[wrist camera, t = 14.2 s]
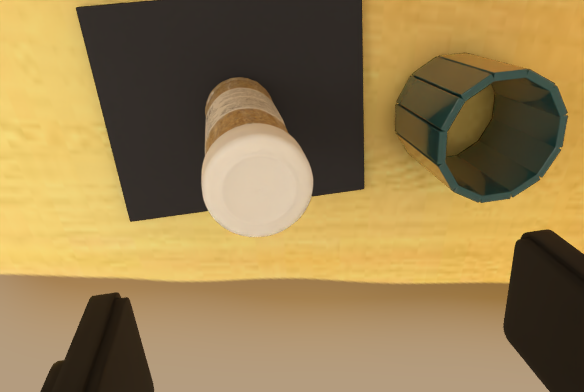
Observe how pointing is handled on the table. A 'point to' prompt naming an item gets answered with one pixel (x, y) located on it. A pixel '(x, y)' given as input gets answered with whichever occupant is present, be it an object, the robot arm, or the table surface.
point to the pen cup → (499, 133)
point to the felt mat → (212, 71)
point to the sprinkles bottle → (252, 162)
